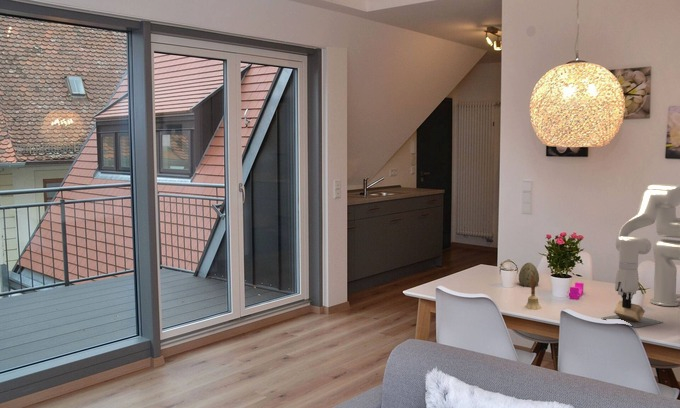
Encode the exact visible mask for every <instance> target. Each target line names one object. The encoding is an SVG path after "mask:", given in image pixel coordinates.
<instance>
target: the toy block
mask: <svg viewBox="0 0 680 408" xmlns="http://www.w3.org/2000/svg"><path fill="white" fill-rule="evenodd" d="M584 284H585V283H584V282H578V281H577V282H574V286H570V287H569V289H570V293H569V297H568V298H569V300H576V301H579V299H580V298H581V297H582V295H584Z"/></svg>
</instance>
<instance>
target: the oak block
mask: <svg viewBox="0 0 680 408" xmlns="http://www.w3.org/2000/svg"><path fill="white" fill-rule="evenodd" d="M645 312H646V310H645V309H644V308H643V307H642V305H640V304H635V303H633V302H631V308H623V307H622V300H619V301H618V303H617V305H616V307H615V309H614V310H613V313H615V315H617V316H618V317H619V318H623V319H627V320H630V321H634V322H638V323H640V321H641V319H642V317H644V314H645Z"/></svg>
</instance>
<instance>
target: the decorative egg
mask: <svg viewBox="0 0 680 408" xmlns="http://www.w3.org/2000/svg"><path fill="white" fill-rule="evenodd" d="M532 276H535V280H536V286H535V288H536V287H537V286H538V285H539V281H540V274H539V271H538V269H537V267H536V266H535V265H534V264H533V263H532V262H527V263H525V264H523V265H522V266H521V269H520V271H519V274H518V282H519V284H520V286H521V287H525V288H531V285H530V280H531V277H532Z"/></svg>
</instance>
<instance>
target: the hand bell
mask: <svg viewBox="0 0 680 408" xmlns="http://www.w3.org/2000/svg"><path fill="white" fill-rule="evenodd" d="M530 285H531V287H530V288H531V290H530V292H531V293H530V294H531V295H530V296H528V299H527V303H526V305H524V308H525V309H527V310H542V309H543V307H542V306H541V305H540V302H539V297H537V296H536V289H535V288H536V287H537V286H536V280H535V276H532V277H531V280H530ZM535 286H536V287H535Z"/></svg>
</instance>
